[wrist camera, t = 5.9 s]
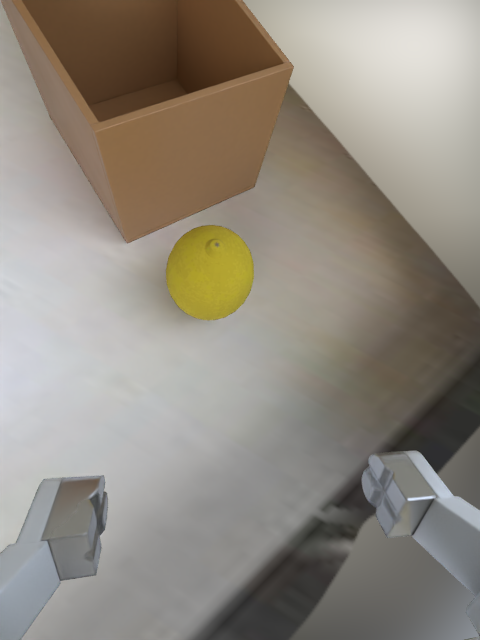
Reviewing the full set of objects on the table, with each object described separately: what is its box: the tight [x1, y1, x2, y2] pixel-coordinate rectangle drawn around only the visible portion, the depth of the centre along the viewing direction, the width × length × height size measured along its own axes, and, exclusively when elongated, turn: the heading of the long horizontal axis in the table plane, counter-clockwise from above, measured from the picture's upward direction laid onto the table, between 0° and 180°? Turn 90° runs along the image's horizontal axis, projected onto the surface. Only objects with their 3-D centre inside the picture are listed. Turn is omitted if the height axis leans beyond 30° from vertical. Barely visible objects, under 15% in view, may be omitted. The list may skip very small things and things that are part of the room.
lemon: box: [166, 225, 254, 320], centre depth 21 cm, size 6×6×8 cm
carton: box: [1, 0, 294, 243], centre depth 23 cm, size 12×13×10 cm
